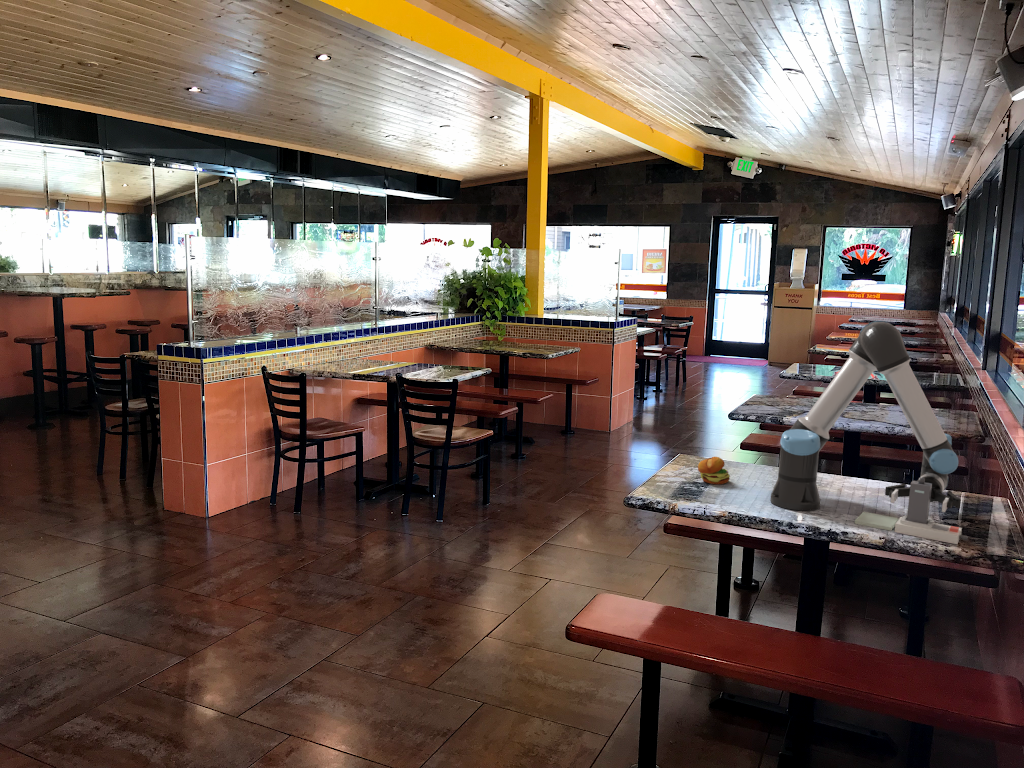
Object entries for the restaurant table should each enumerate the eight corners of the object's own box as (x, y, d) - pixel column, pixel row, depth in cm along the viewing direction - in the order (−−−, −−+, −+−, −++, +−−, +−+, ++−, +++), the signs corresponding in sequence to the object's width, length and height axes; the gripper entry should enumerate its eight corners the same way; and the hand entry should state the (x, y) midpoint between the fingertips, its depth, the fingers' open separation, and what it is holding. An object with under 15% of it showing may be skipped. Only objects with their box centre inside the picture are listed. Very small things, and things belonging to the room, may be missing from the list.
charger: (906, 523, 229) (911, 478, 227) (908, 520, 232) (913, 475, 230) (925, 527, 226) (930, 481, 224) (927, 523, 229) (932, 478, 228)
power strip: (894, 532, 229) (895, 520, 228) (900, 524, 236) (901, 513, 236) (965, 545, 219) (966, 533, 218) (968, 537, 226) (970, 526, 225)
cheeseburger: (736, 484, 276) (732, 457, 274) (709, 492, 274) (704, 465, 272) (722, 476, 286) (718, 450, 283) (695, 484, 283) (691, 458, 281)
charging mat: (854, 523, 235) (854, 520, 235) (863, 514, 245) (863, 511, 245) (891, 530, 230) (891, 527, 230) (898, 521, 239) (898, 518, 239)
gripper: (973, 507, 236) (965, 524, 219) (884, 492, 250) (870, 507, 233) (976, 483, 235) (968, 498, 218) (886, 469, 249) (872, 482, 232)
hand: (917, 502), depth 226 cm, fingers open, 12 cm apart
